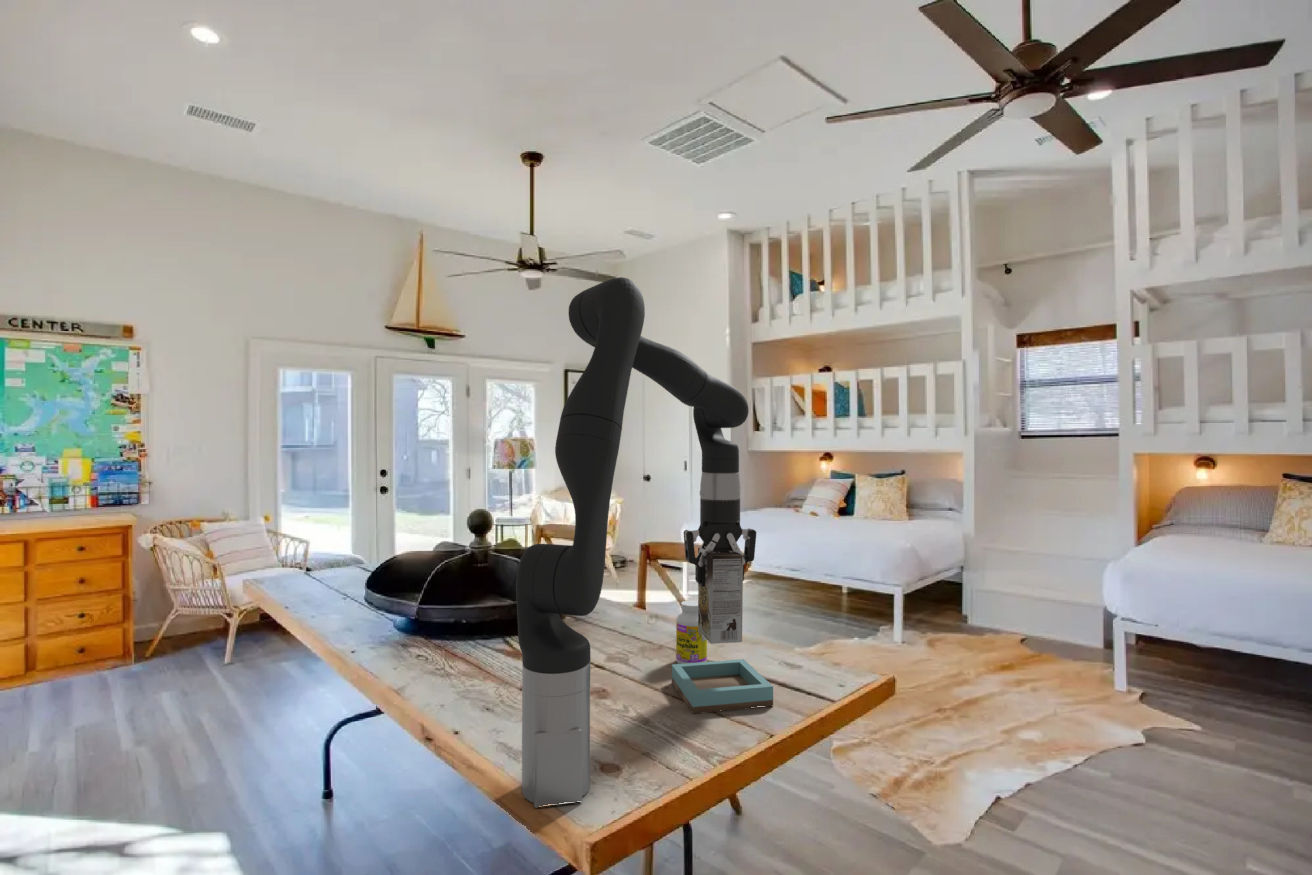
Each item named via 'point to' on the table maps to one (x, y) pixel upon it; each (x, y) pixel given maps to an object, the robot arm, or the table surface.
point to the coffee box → (721, 598)
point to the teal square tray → (721, 686)
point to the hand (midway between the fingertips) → (719, 584)
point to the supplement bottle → (689, 635)
